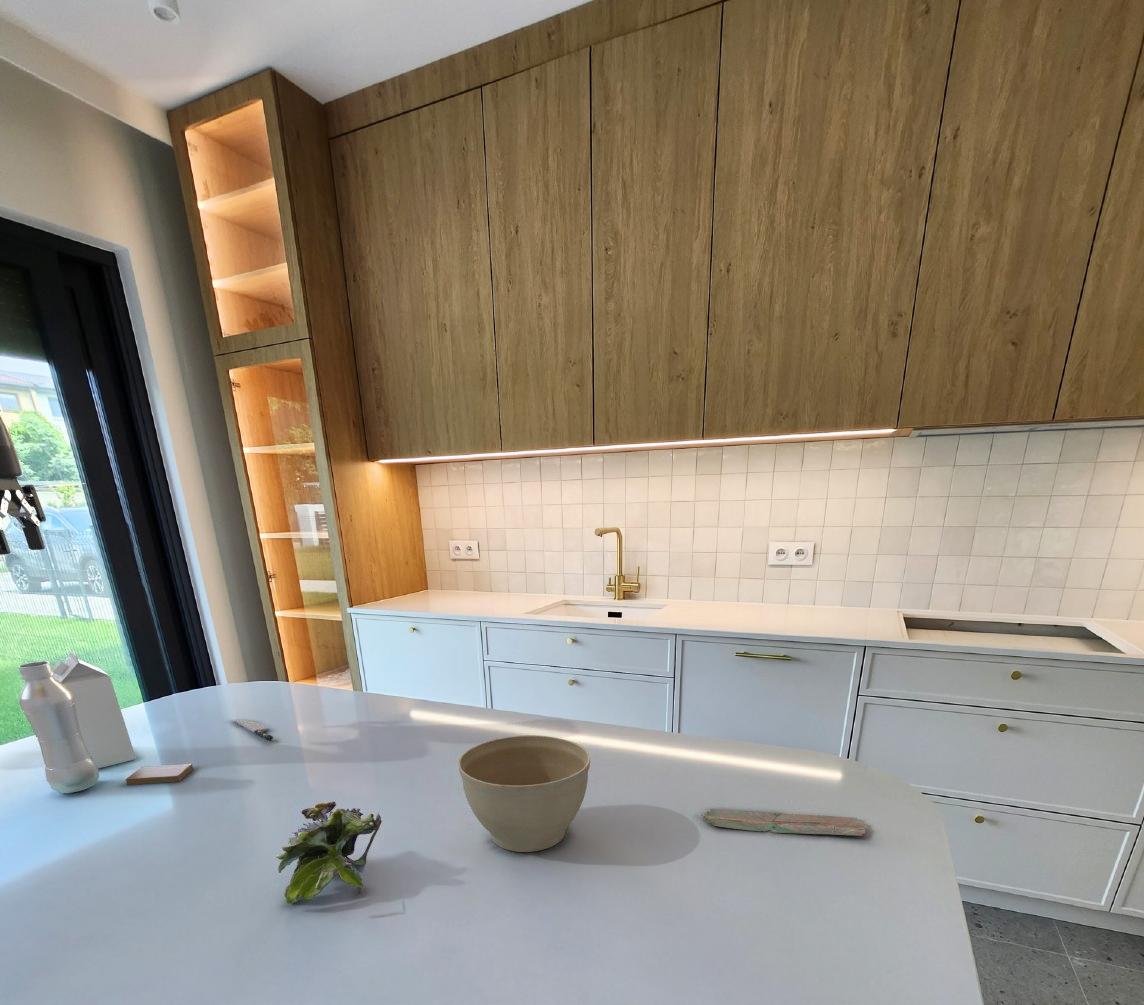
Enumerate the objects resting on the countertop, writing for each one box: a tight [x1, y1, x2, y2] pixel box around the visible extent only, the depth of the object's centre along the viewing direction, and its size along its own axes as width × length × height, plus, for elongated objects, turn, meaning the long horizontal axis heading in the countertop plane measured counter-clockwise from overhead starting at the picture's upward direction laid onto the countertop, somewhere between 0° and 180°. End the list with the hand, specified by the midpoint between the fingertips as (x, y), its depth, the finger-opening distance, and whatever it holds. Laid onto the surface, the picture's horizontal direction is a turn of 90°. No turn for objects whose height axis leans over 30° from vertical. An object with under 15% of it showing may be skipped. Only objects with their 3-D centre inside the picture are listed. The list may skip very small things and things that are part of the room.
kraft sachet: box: [125, 763, 194, 786], centre depth 105 cm, size 8×5×1 cm, turn 95°
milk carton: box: [52, 649, 137, 770], centre depth 109 cm, size 7×7×19 cm
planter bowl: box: [457, 734, 591, 853], centre depth 82 cm, size 16×16×11 cm
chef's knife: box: [232, 719, 274, 742], centre depth 125 cm, size 19×1×3 cm
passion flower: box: [275, 801, 383, 905], centre depth 74 cm, size 11×11×12 cm
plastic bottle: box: [17, 660, 100, 794], centre depth 98 cm, size 6×7×20 cm
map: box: [700, 808, 868, 837], centre depth 84 cm, size 5×20×1 cm, turn 77°
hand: (20, 552), depth 109 cm, fingers open, 8 cm apart
